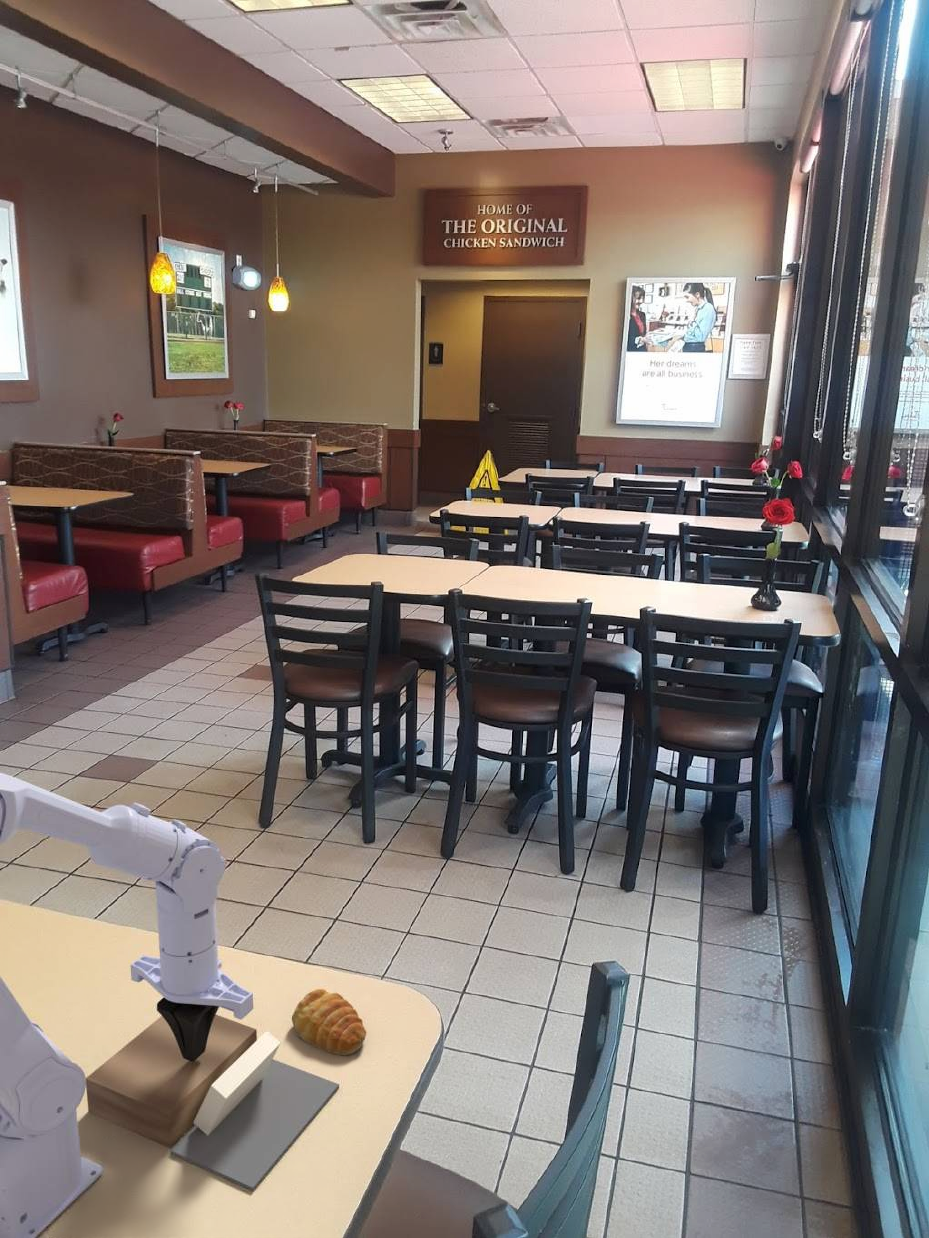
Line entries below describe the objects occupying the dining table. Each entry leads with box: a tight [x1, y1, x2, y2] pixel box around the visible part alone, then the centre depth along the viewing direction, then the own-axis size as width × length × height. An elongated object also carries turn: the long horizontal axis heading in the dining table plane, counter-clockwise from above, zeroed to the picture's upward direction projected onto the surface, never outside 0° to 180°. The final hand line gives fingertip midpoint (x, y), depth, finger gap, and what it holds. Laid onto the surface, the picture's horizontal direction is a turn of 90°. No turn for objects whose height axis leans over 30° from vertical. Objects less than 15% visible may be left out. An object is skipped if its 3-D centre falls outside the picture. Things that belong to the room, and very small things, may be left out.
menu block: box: [193, 1030, 281, 1136], centre depth 96 cm, size 9×6×2 cm
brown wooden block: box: [85, 1014, 258, 1149], centre depth 100 cm, size 14×11×4 cm
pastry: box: [291, 988, 367, 1056], centre depth 109 cm, size 9×7×4 cm
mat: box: [170, 1058, 340, 1192], centre depth 96 cm, size 15×10×1 cm, turn 155°
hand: (194, 1054), depth 98 cm, fingers closed
